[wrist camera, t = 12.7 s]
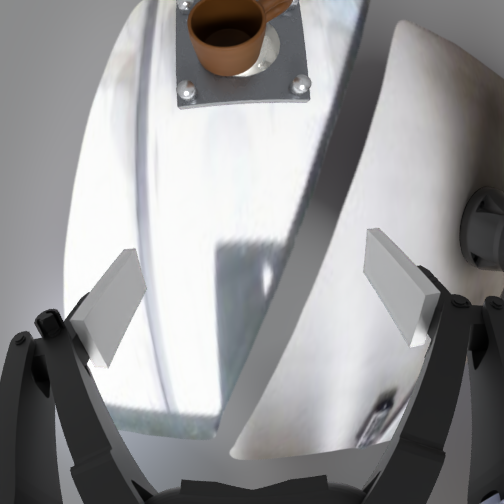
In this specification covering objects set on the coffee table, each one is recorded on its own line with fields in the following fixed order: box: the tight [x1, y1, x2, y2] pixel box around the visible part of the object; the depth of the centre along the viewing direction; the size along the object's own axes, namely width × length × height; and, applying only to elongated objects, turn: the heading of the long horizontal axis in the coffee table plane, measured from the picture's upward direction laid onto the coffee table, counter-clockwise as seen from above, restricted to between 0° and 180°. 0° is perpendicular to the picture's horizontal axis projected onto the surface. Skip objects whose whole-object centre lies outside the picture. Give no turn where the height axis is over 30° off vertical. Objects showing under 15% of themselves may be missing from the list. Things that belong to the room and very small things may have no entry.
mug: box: [187, 0, 293, 76], centre depth 24 cm, size 12×8×9 cm, turn 127°
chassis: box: [176, 0, 311, 109], centre depth 28 cm, size 16×16×5 cm
